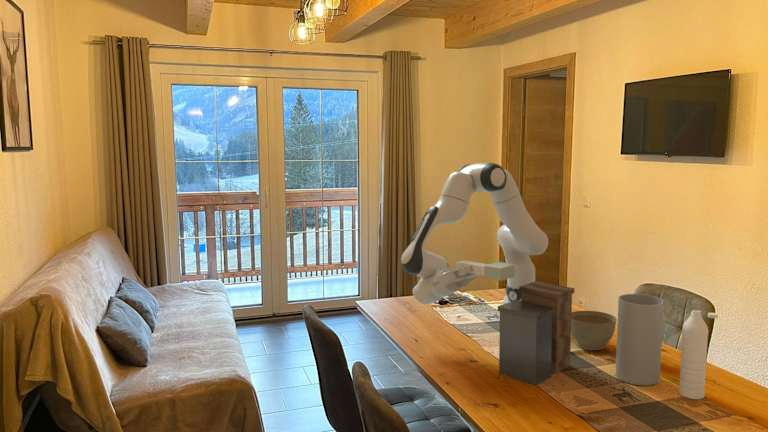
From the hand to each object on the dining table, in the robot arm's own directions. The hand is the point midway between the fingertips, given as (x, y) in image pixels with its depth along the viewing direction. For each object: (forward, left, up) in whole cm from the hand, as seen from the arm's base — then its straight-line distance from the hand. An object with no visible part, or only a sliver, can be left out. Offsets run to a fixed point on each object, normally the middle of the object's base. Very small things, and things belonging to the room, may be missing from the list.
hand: (476, 266), depth 191 cm
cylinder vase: (-22, +45, -32) cm, 60 cm away
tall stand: (-12, +19, -32) cm, 39 cm away
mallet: (0, +3, -2) cm, 3 cm away
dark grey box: (0, +19, -32) cm, 37 cm away
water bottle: (-21, +62, -32) cm, 73 cm away
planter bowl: (-38, +22, -32) cm, 54 cm away
